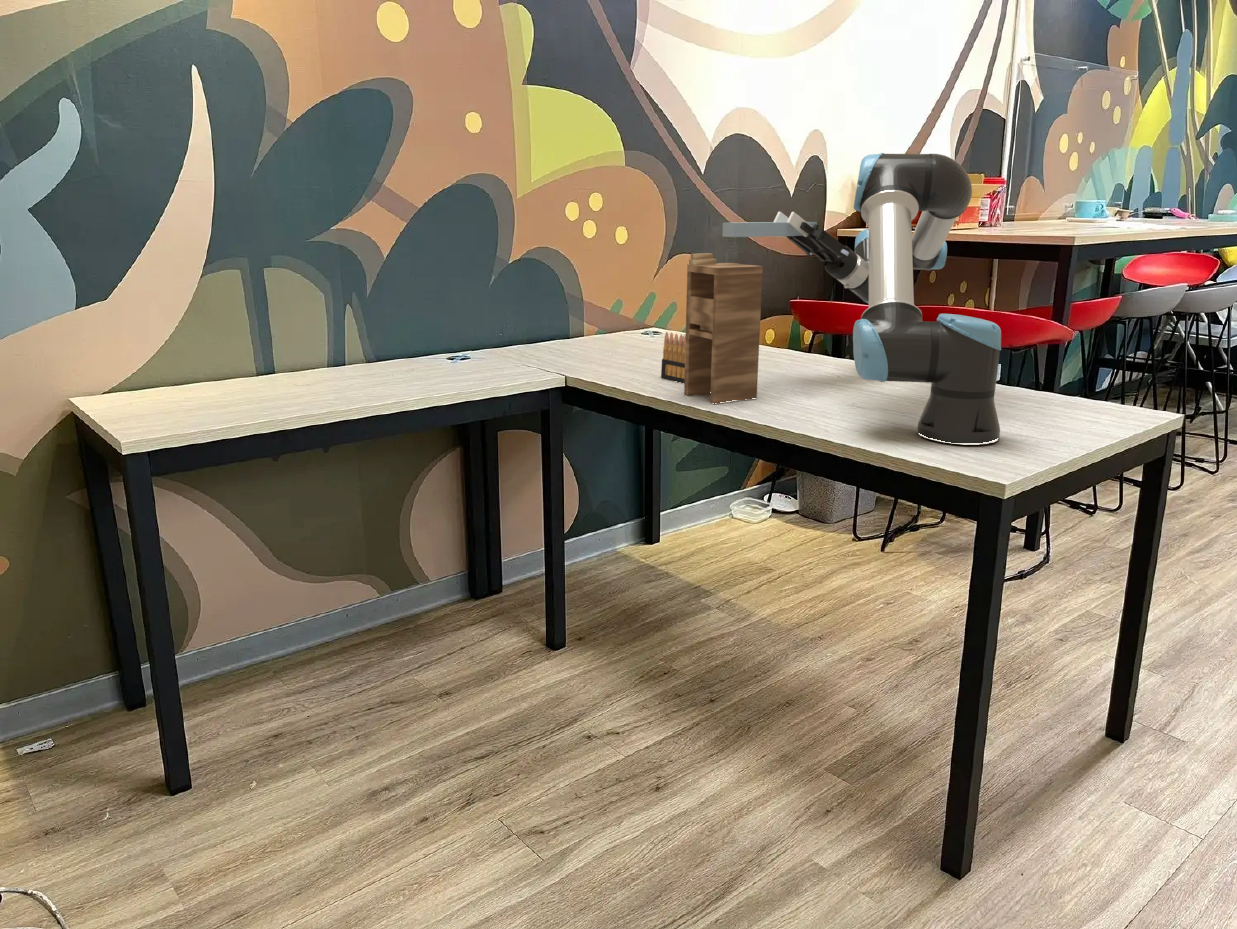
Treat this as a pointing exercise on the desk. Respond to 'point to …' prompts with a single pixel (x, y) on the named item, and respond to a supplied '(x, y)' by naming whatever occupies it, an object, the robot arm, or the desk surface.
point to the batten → (760, 229)
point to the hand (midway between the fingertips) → (783, 216)
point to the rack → (722, 329)
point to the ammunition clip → (673, 358)
